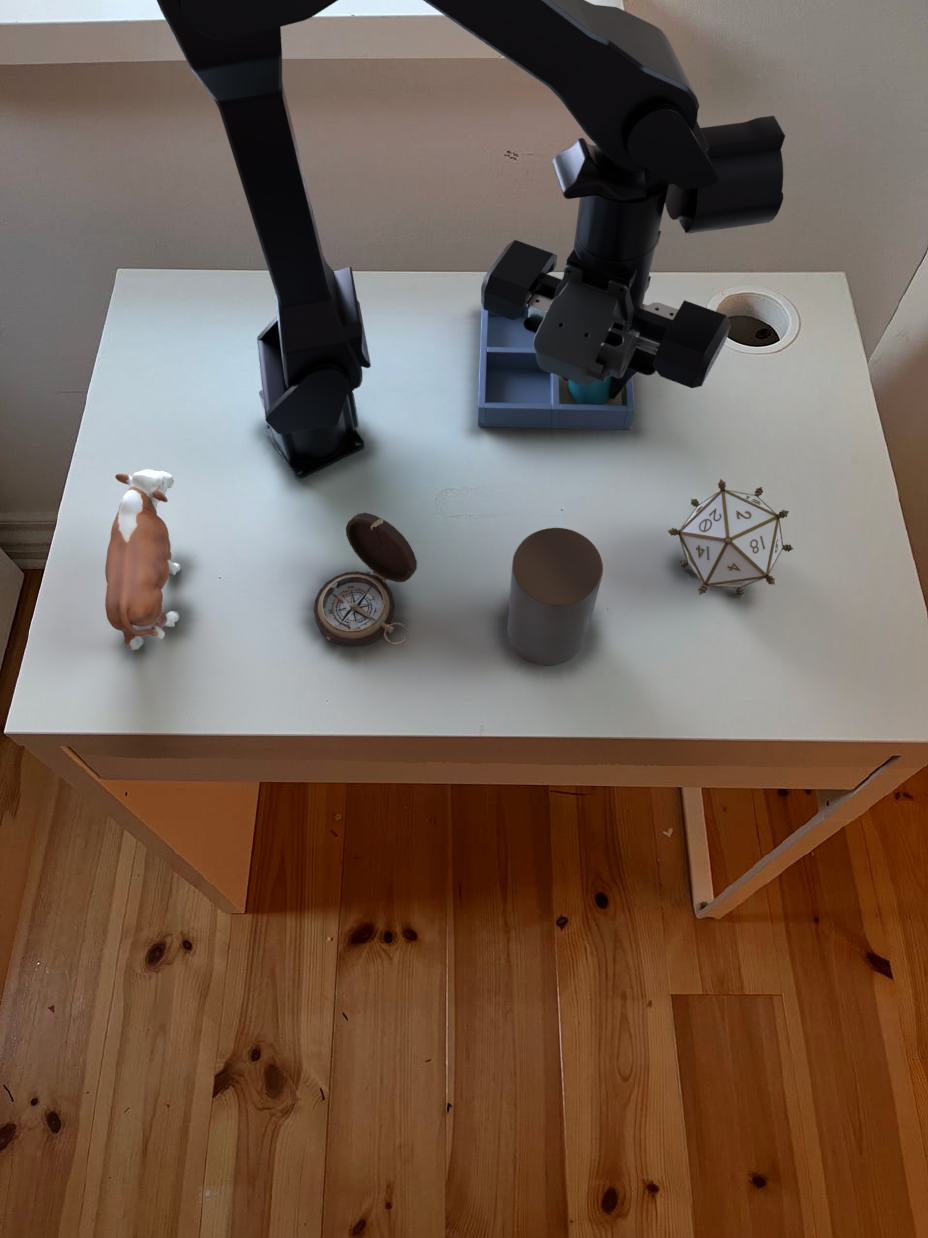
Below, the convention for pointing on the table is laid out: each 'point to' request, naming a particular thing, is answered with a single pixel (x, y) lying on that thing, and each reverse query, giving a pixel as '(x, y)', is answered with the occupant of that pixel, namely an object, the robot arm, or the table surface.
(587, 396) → the cylinder
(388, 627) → the compass
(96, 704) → the table surface
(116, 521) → the bull figurine
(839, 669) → the table surface
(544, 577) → the stand
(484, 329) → the grid
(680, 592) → the table surface
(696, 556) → the game die
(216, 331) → the table surface
